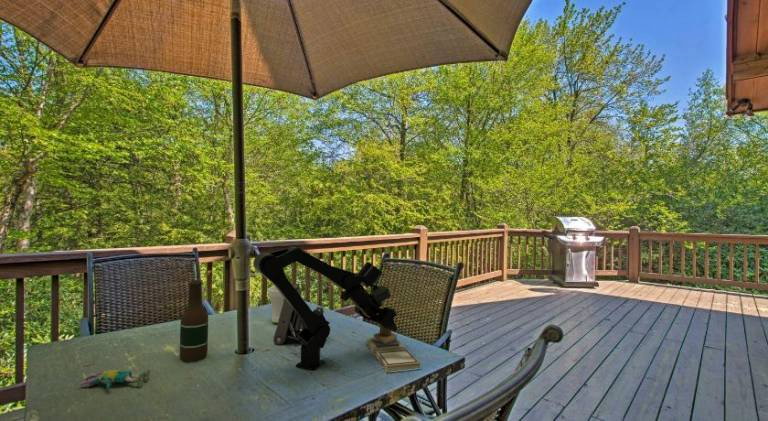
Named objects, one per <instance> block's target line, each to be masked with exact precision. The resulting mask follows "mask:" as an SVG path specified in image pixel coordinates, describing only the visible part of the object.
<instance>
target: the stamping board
mask: <svg viewBox="0 0 768 421" xmlns="http://www.w3.org/2000/svg"><path fill="white" fill-rule="evenodd" d="M372 338H373V337H369V338H366V340H365V342H366V343H367V345H368V346H369V347H370V349H371V350H372V352H373V353H374V354H375V356H376V357H377V359H378V360H379V362H380V363H381V364H382V366H383V367H384V369H385V370H386V371H387V372H391V371H398V370H407V369H415V368H420V369H421V362H420V361H419V360H418V359H417V358H416V357H415V356H414V355H413V354H412V353H411V352H410V351H409V350H408V348H406V347H405V346H404V345H403V343H401V342H400V340H398V339H397V342H398V343H399V346H393V347H382V348H377V346H376V345H375V344H374V343H373V341H372ZM366 343H365V344H366ZM367 345H366V346H367ZM368 346H367V347H368ZM369 347H368V348H369ZM370 349H369V350H370ZM371 350H370V351H371ZM372 352H371V353H372ZM373 353H372V354H373ZM375 356H374V357H375ZM376 357H375V358H376ZM377 359H376V360H377ZM378 360H377V361H378ZM379 362H378V363H379ZM380 363H379V364H380ZM381 364H380V365H381ZM382 366H381V367H382ZM383 367H382V368H383ZM384 369H383V370H384ZM385 370H384V371H385ZM386 371H385V372H386Z"/></svg>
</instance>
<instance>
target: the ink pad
mask: <svg viewBox="0 0 768 421" xmlns="http://www.w3.org/2000/svg"><path fill="white" fill-rule="evenodd" d="M371 338H372V341H373V343H374V344H375V345H376V346H377V348H382V347H393V346H399V343H398V342H397V341H396V342H393V343H390V344H387V345H384V344H381V343H379V342H376V341H374V337H371Z"/></svg>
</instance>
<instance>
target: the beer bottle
mask: <svg viewBox="0 0 768 421" xmlns="http://www.w3.org/2000/svg"><path fill="white" fill-rule="evenodd" d="M202 284H203V282H202V280H200V279H198V280H197V279H195V280H190V281H189V282H188V286H189V291H188V292H189V293H188V300H187V301H188V302H187V307H186V309H184V311H183V313H182V315H181V318H180V326H179V327H180V328H179V329H180V330H179V334H180V336H179V360H180V361H182V362H184V363H197V362H199V361H202V360H205V358H206V357H207V355H208V347H209V346H208V345H209V314H208V312H207V309H206V308H205V307H204V306H203V298H202V297H203V296H202Z"/></svg>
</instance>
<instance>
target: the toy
mask: <svg viewBox="0 0 768 421" xmlns="http://www.w3.org/2000/svg"><path fill="white" fill-rule="evenodd" d="M150 374H151V372H150V370H149V369H145V370H144V371H143V372H141V373H137V374H133V371H131V370H128V371H126V370H124V371H122V370H120V369H110V370H106V371H100V372H94V373H92V374H88V375H87V376H86V377H85V378H84V381H82V382H80V383H79V385H78V386H79V387H81V386H84V385H85V388H90V387H92V386H94V385H97V384H99V383H102V382H104V385H106V389H109V388H110V387H111V386H112V384H113V383H115V382H116V383H123V382H130V383H134V382H136V384H137V385H136V386H137V388H138V389H141V388H143V387H144V383H147V382H149V381H150Z"/></svg>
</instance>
